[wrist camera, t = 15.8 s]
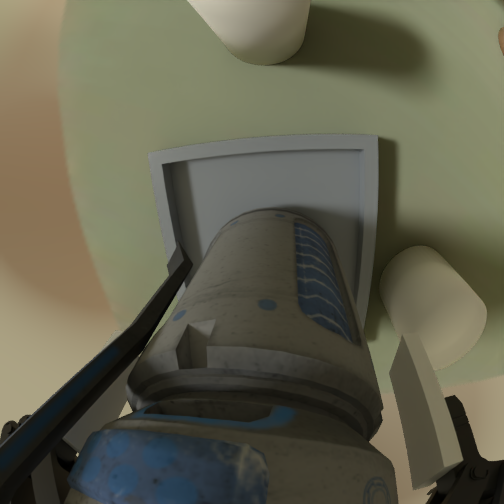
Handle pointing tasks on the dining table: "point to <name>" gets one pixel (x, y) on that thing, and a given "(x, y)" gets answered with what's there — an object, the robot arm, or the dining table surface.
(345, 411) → the beverage bottle
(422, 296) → the white mug
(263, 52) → the cream rounded capsule
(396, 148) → the dining table surface
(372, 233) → the tray
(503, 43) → the terracotta sugar bowl
